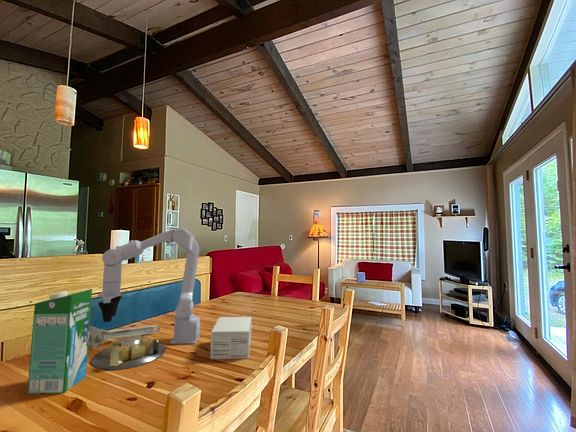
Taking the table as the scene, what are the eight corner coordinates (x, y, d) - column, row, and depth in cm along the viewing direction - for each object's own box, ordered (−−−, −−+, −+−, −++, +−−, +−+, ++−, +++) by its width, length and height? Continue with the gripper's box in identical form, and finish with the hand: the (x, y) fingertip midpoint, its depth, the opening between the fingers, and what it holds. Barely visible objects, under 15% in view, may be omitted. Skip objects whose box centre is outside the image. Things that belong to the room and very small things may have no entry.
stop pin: (158, 354, 96) (159, 339, 97) (156, 355, 95) (157, 340, 95) (153, 354, 96) (154, 339, 97) (151, 356, 95) (152, 340, 95)
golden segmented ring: (157, 344, 102) (157, 333, 103) (135, 365, 86) (136, 351, 86) (120, 345, 101) (121, 333, 102) (92, 366, 85) (93, 352, 85)
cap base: (173, 342, 107) (174, 328, 108) (150, 369, 85) (151, 352, 86) (114, 342, 106) (115, 329, 106) (74, 370, 84) (75, 353, 84)
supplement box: (217, 341, 110) (218, 316, 111) (251, 340, 111) (252, 316, 112) (209, 359, 93) (210, 331, 94) (248, 359, 94) (249, 330, 95)
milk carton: (53, 376, 80) (60, 288, 82) (86, 375, 81) (92, 288, 83) (26, 394, 71) (35, 294, 73) (64, 393, 72) (71, 294, 74)
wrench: (158, 339, 118) (73, 352, 95) (156, 338, 119) (72, 351, 96) (161, 319, 120) (78, 328, 96) (159, 318, 121) (77, 327, 98)
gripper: (103, 279, 109) (101, 314, 108) (94, 285, 96) (91, 325, 95) (124, 278, 112) (122, 312, 111) (117, 284, 98) (115, 323, 97)
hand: (109, 318), depth 103 cm, fingers open, 7 cm apart
